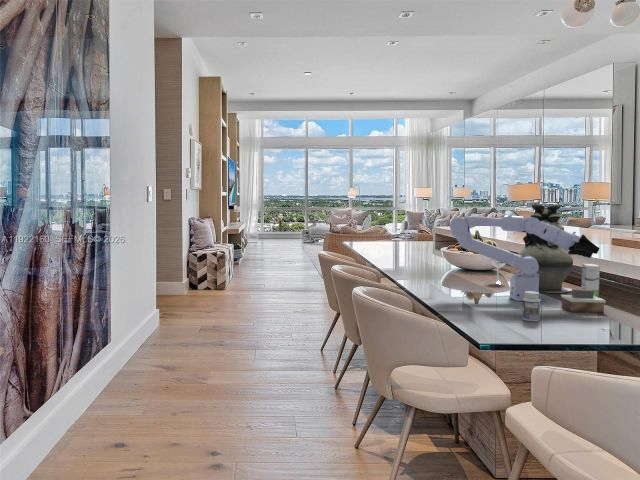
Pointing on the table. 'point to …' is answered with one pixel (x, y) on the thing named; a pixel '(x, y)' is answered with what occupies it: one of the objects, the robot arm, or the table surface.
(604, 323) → the table surface
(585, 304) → the box
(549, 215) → the decorative urn
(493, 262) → the wineglass
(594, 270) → the ink box
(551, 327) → the table surface
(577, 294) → the lid
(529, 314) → the pill bottle
